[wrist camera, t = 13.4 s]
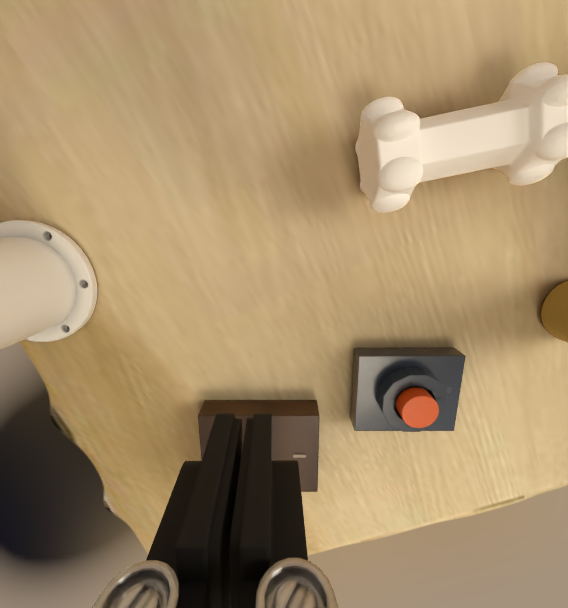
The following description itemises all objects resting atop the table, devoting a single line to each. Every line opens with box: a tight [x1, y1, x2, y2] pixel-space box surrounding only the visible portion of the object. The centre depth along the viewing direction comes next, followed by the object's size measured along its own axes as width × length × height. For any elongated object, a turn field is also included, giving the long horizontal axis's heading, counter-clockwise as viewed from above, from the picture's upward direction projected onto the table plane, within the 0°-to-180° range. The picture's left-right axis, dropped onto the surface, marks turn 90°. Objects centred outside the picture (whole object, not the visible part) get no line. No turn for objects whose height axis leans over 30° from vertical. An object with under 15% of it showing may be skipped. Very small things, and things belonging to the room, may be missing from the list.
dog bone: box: [355, 62, 568, 213], centre depth 25 cm, size 15×9×8 cm, turn 101°
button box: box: [351, 348, 465, 432], centre depth 33 cm, size 11×9×4 cm
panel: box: [198, 400, 319, 492], centre depth 36 cm, size 13×10×3 cm
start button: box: [396, 387, 439, 428], centre depth 31 cm, size 4×4×2 cm
